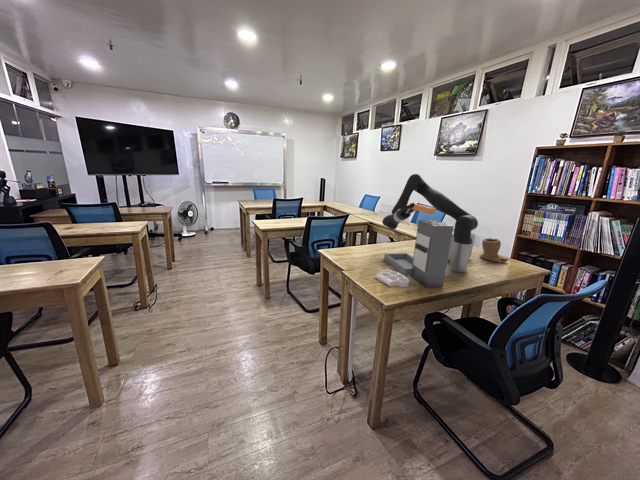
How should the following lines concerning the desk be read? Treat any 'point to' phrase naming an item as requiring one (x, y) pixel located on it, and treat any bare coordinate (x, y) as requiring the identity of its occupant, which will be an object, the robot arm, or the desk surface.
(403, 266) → the tray
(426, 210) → the orange block
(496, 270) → the desk surface
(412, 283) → the desk surface
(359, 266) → the desk surface
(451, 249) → the grey angular piece
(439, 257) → the cabinet
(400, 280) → the white brass knuckles
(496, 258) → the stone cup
